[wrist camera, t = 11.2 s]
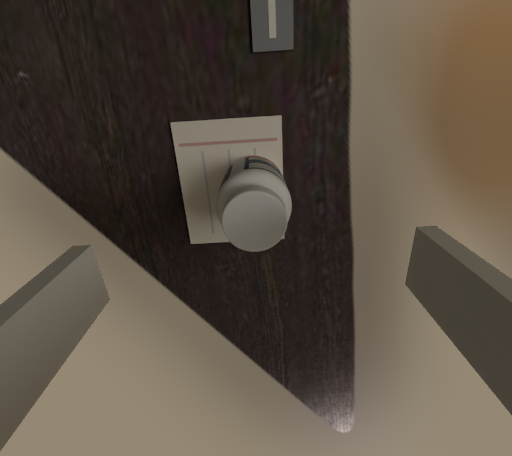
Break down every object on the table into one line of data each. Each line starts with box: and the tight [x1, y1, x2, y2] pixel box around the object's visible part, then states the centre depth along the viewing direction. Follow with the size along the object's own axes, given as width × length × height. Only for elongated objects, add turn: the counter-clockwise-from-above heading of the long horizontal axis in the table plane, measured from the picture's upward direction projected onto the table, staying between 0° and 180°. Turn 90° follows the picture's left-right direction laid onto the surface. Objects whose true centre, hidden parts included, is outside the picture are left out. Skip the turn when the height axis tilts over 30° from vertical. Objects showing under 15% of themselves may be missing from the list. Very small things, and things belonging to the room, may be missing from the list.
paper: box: [170, 115, 284, 244], centre depth 25 cm, size 11×9×1 cm
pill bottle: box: [216, 155, 292, 252], centre depth 21 cm, size 5×5×9 cm
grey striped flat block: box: [250, 0, 293, 53], centre depth 20 cm, size 6×3×1 cm, turn 3°
